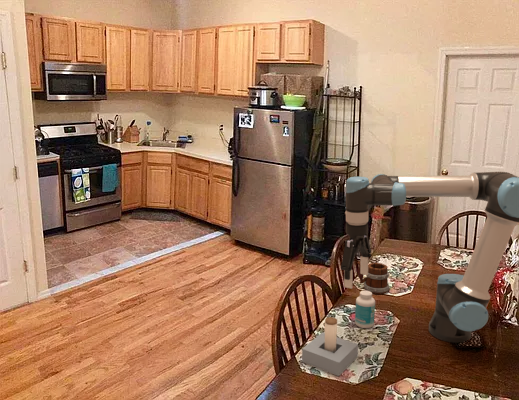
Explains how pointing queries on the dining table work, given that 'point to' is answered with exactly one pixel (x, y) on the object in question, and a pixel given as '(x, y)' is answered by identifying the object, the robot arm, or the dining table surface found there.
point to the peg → (330, 334)
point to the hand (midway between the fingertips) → (356, 280)
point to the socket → (330, 355)
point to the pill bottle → (365, 310)
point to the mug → (375, 278)
